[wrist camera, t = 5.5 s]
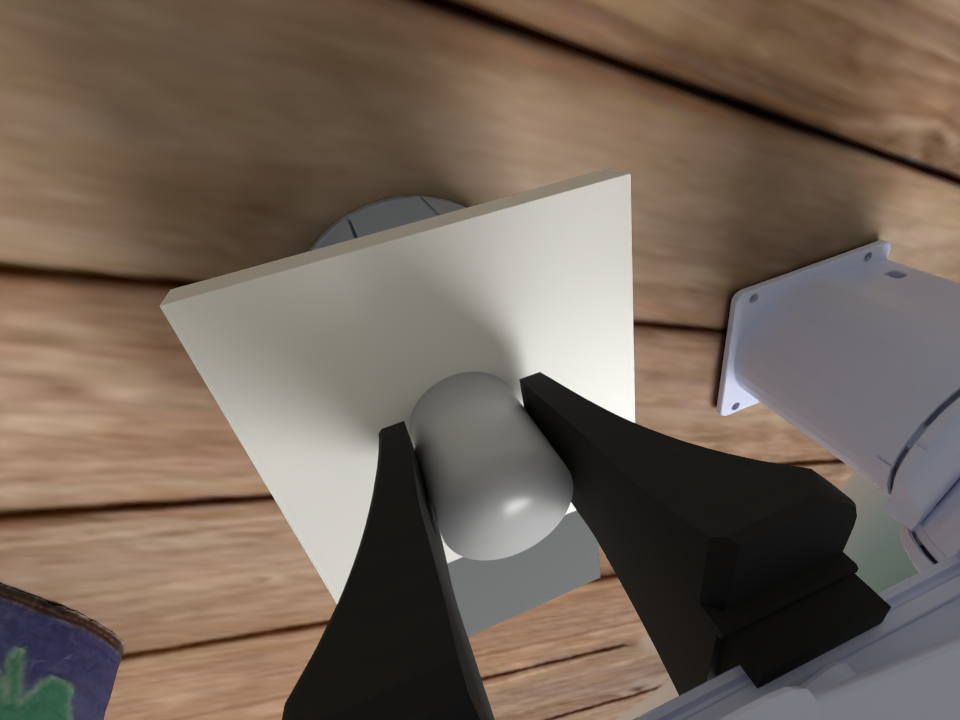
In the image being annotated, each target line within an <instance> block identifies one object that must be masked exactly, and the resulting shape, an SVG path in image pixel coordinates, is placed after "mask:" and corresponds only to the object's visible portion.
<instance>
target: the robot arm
mask: <svg viewBox="0 0 960 720" xmlns="http://www.w3.org/2000/svg"><path fill="white" fill-rule="evenodd" d="M890 248H891V245H890V243H889V242H887V241H884V240H879V241H876V242H873V243H871V244H868V245H865V246H862V247H859V248H857V249H854V250H851V251H848V252H845V253H843V254H840V255H837V256H834V257H831V258H829V259H826V260H823V261H820V262H817V263H815V264H812V265H809V266H806V267H803V268H801V269H798V270H795V271H792V272H789V273H787V274H784V275H781V276H778V277H775V278H772V279H770V280H767V281H764V282H761V283H758V284H756V285H753V286H750V287H747V288H744V289H742V290H740V291H738V292H737V293H736V294H734V296H733V298H732V301H731V307H730V315H729V322H728V329H727V336H726V343H725V351H724V358H723V365H722V372H721V380H720V387H719V394H718V401H717V408H716V409H717V412H718V413H719V414H721V415H722V416H726V415H729V414H731V413H734V412H736V411H739V410H741V409H744V408H746V407H749V406H751V405H754V404H756V403H758V402H761V403H762V404H764V405H765V406H767V407H768V408H769V409H771V410H772V411H773V412H775V413H776V414H778V415H779V416H780V417H782V418H783V419H785V420H786V421H787V422H789V423H790V424H792V425H793V426H794V427H796V428H797V429H798V430H800V431H801V432H803V433H804V434H805V435H807V436H808V437H810V438H811V439H812V440H814V441H815V442H816V443H818V444H819V445H821V446H822V447H823V448H825V449H826V450H828V451H829V452H830V453H832V454H833V455H835V456H836V457H837V458H839V459H840V460H841V461H843V462H844V463H846V464H847V465H848V466H850V467H851V468H853V469H854V470H855V471H857V472H858V473H859V474H861V475H862V476H864V477H865V478H866V479H868V480H869V481H871V482H872V483H873V484H875V485H876V486H878V487H879V488H880V489H882V490H883V491H885V492H886V493H887V494H889V495H890V497H889V499H888V500H887V502H886V503H885V505H884V506H883V510H884V511H886V512H887V513H888V514H890V515H891V516H892V517H894V518H895V519H896V520H898V521H899V522H900V523H902V524H903V525H902V527H901V529H900V539H901V543H902V545H903V547H904V549H905V551H906V553H907V555H908V556H909V557H910V559H911V561H912V563H913V565H914V566H915V568H916V569H917V571H918V572H919V573H917V574H915V575H913V576H911V577H910V578H908V579H906V580H904V581H902V582H900V583H898V584H896V585H894V586H892V587H890V588H888V589H886V590H884V591H882V592H880V593H879V594H877V593H876V592H874V591H873V590H872V589H871V588H870V587H869V586H868V585H867V584H866V583H864V582H863V581H862V580H861V579H860V578H859V577H858V576H857V575H856V574H855V573H856V572H857V570H858V567H857V564H856V563H855V562H853V561H852V560H851V559H850V558H849V557H848V556H847V555H846V554H845V553H843V550H844V548H845V545H846V543H847V541H848V538H849V536H850V534H851V531H852V529H853V527H854V524H855V520H856V517H857V514H856V505H855V503H854V502H853V501H852V500H851V499H850V498H849V497H848V496H846V495H845V494H844V493H842V492H841V491H840V490H839V489H837V488H836V487H835V486H834V485H832V484H831V483H830V482H829V481H827V480H826V479H824V478H823V477H822V476H820V475H819V474H818V473H816V472H815V471H813V470H812V469H808V468H802V467H796V466H790V465H783V464H777V463H771V462H765V461H759V460H754V459H750V458H745V457H741V456H736V455H731V454H727V453H723V452H719V451H715V450H711V449H708V448H704V447H701V446H698V445H694V444H691V443H687V442H684V441H681V440H678V439H675V438H672V437H669V436H666V435H664V434H661V433H658V432H656V431H653V430H650V429H648V428H645V427H643V426H640V425H638V424H636V423H633V422H631V421H629V420H627V419H625V418H622V417H620V416H618V415H616V414H614V413H612V412H610V411H608V410H606V409H604V408H602V407H600V406H599V405H597V404H595V403H593V402H591V401H589V400H587V399H586V398H584V397H582V396H580V395H578V394H577V393H575V392H573V391H572V390H570V389H568V388H566V387H565V386H563V385H561V384H560V383H558V382H556V381H555V380H553V379H551V378H550V377H548V376H546V375H545V374H543V373H541V372H538V373H535V374H533V375H530V376H527V377H524V378H522V379H519V381H520V387H521V393H522V399H523V405H524V408H525V410H526V411H527V412H528V414H529V415H530V416H531V418H532V419H533V421H534V422H535V423H536V425H537V426H538V428H539V429H540V430H541V432H542V433H543V435H544V436H545V437H546V439H547V440H548V441H549V443H550V444H551V446H552V447H553V448H554V450H555V451H556V453H557V454H558V455H559V457H560V458H561V460H562V461H563V462H564V464H565V465H566V467H567V468H568V470H569V471H570V474H571V476H572V480H573V496H572V500H571V503H572V504H573V506H574V507H575V509H576V510H577V511H578V513H579V514H580V516H581V517H582V519H583V520H584V521H585V523H586V524H587V526H588V527H589V529H590V530H591V532H592V533H593V535H594V536H595V538H596V539H597V541H598V543H599V544H600V546H601V548H602V550H603V552H604V553H605V555H606V557H607V559H608V560H609V562H610V564H611V566H612V567H613V569H614V571H615V573H616V575H617V576H618V578H619V580H620V582H621V584H622V586H623V587H624V589H625V591H626V593H627V595H628V597H629V598H630V600H631V602H632V604H633V606H634V608H635V609H636V611H637V613H638V615H639V617H640V619H641V621H642V623H643V625H644V627H645V629H646V631H647V632H648V634H649V636H650V638H651V640H652V642H653V644H654V646H655V648H656V650H657V652H658V654H659V656H660V658H661V660H662V662H663V664H664V666H665V668H666V670H667V672H668V674H669V676H670V678H671V680H672V682H673V684H674V686H675V688H676V690H677V692H678V694H679V696H678V697H676V698H674V699H672V700H670V701H669V702H666V703H664V704H663V705H661V706H659V707H657V708H655V709H653V710H651V711H649V712H647V713H645V714H643V715H641V716H640V717H637V718H635V719H633V720H960V283H957V282H954V281H951V280H948V279H944V278H941V277H938V276H935V275H932V274H929V273H926V272H923V271H920V270H917V269H914V268H911V267H908V266H905V265H902V264H899V263H896V262H893V261H890V260H887V258H888V255H889V251H890ZM282 720H494V717H493V713H492V710H491V707H490V704H489V701H488V698H487V695H486V692H485V689H484V686H483V683H482V680H481V677H480V673H479V670H478V667H477V664H476V661H475V658H474V655H473V652H472V649H471V646H470V643H469V639H468V636H467V633H466V630H465V627H464V624H463V621H462V618H461V614H460V611H459V608H458V605H457V602H456V598H455V594H454V591H453V587H452V583H451V578H450V574H449V569H448V565H447V560H446V556H445V551H444V547H443V542H442V538H441V534H440V529H439V526H438V523H437V520H436V517H435V514H434V511H433V508H432V505H431V502H430V498H429V495H428V492H427V489H426V485H425V482H424V478H423V474H422V471H421V468H420V465H419V462H418V459H417V456H416V453H415V449H414V447H413V444H412V441H411V438H410V436H409V433H408V430H407V427H406V425H405V422H404V421H402V422H399V423H397V424H394V425H391V426H388V427H386V428H383V429H381V431H380V432H379V452H378V462H377V471H376V477H375V483H374V489H373V495H372V500H371V504H370V508H369V512H368V517H367V521H366V525H365V529H364V532H363V536H362V539H361V542H360V546H359V549H358V552H357V555H356V558H355V561H354V563H353V566H352V569H351V571H350V574H349V577H348V579H347V582H346V584H345V587H344V590H343V592H342V594H341V597H340V599H339V601H338V604H337V606H336V608H335V610H334V612H333V614H332V617H331V619H330V621H329V623H328V625H327V627H326V629H325V631H324V633H323V635H322V638H321V640H320V642H319V644H318V646H317V648H316V650H315V651H314V653H313V655H312V657H311V659H310V661H309V662H308V664H307V666H306V668H305V670H304V671H303V673H302V675H301V677H300V678H299V680H298V682H297V684H296V685H295V687H294V689H293V691H292V693H291V694H290V696H289V698H288V699H287V701H286V703H285V706H284V711H283V717H282Z"/></svg>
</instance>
